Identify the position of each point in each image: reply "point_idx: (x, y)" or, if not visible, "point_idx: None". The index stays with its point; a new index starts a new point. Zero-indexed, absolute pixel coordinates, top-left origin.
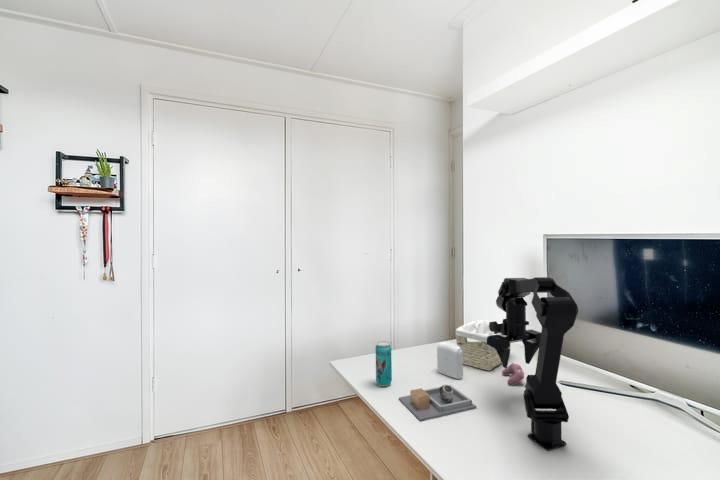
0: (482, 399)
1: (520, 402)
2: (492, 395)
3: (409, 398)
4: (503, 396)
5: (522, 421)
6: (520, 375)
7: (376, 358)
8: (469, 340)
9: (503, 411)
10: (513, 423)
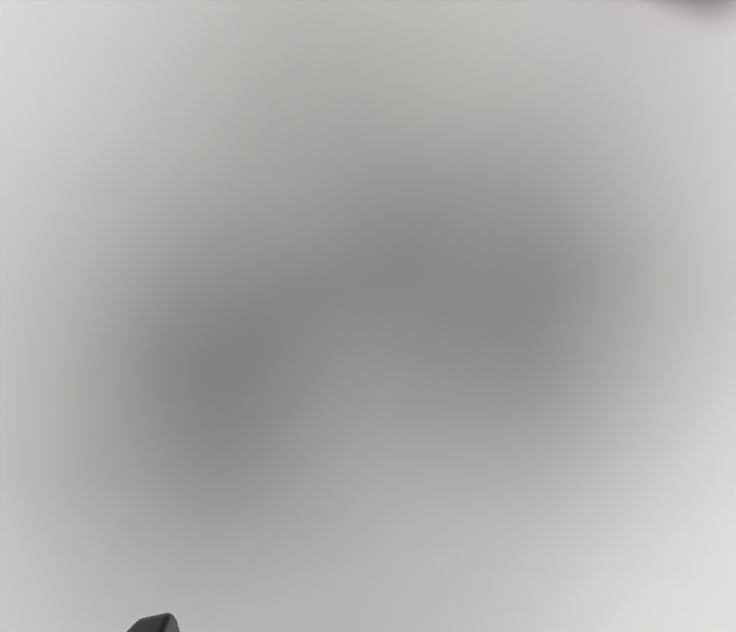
0: (65, 191)
1: (432, 329)
2: (230, 128)
3: None
4: (341, 179)
5: (240, 607)
6: None
7: None
8: None
9: (166, 449)
10: None
